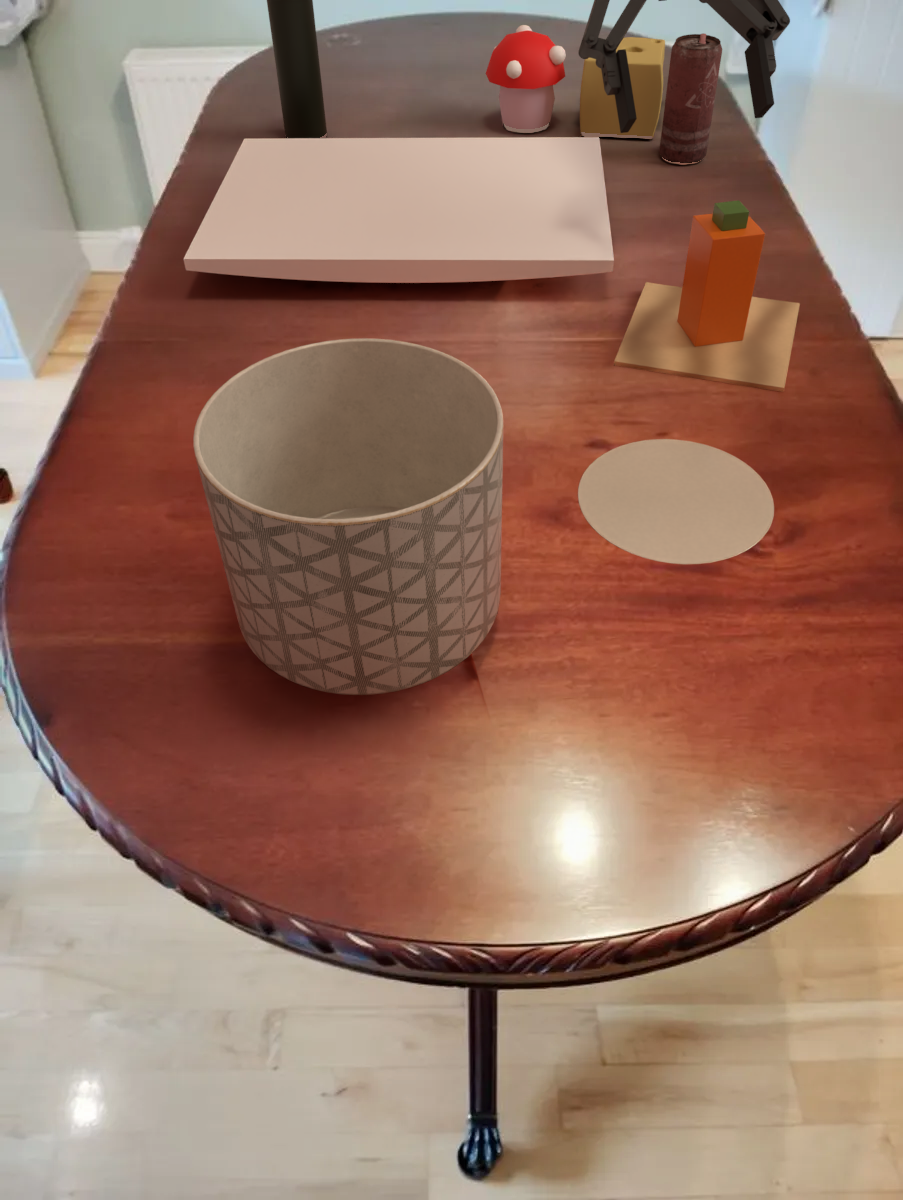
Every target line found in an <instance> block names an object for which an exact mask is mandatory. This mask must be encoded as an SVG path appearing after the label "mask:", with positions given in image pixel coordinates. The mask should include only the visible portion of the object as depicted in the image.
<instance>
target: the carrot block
mask: <svg viewBox="0 0 903 1200" xmlns="http://www.w3.org/2000/svg"><path fill="white" fill-rule="evenodd" d="M689 235H690V236H689V242H688V248H687V254H686V261H685V268H684V275H683V281H682V286H681V287H682V293H681V300H680V306H679V313H678V319H677V321H678V323H679V324H680V326H681V327H682V329H683V330H684V331H685V333H686V334H687V336H688V337H689V339H690V340H691V341H692V343H693V344H694V346H695V347H696V346H704V345H711V344H718V343H726V342H733V341H741V340H743V337H744V332H745V328H746V323H747V318H748V313H749V309H750V304H751V299H752V297H753V294H754V289H755V284H756V280H757V274H758V271H759V270H758V269H759V265H760V261H761V257H762V256H761V255H762V251H763V246H764V241H765V237H766V232H765V231H764V230H763V229H762V228H761V227H760V226H759V225H758V223H756V221H754V220H753V219H752V217H751V216H750V210H749V209H748V208H747V207H746V205H744V204H743V203H742V202H741V201H740V200H739V199H738V200H731V201H730V200H729V201H722V202H720V201H719V202H715V203H714V204H713V209H712V213H706V214H697V215H693V216H692V223H691V228H690V234H689Z"/></svg>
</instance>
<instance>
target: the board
mask: <svg viewBox="0 0 903 1200" xmlns="http://www.w3.org/2000/svg"><path fill="white" fill-rule="evenodd" d="M605 181H606V180H605V173H604V164H603V157H602V149H601V139H600V138H599V137H581V136H579V137H578V136H572V137H570V136H567V137H565V136H563V137H561V136H560V137H557V136H556V137H555V136H554V137H553V136H552V137H551V136H550V137H549V136H548V137H547V136H545V137H541V136H540V137H539V136H536V137H535V136H534V137H533V136H532V137H528V136H527V137H333V138H332V137H327V138H286V137H285V138H284V137H283V138H278V137H277V138H271V137H270V138H265V137H264V138H243V141H242V143H241V144H240V146H239V148H238V150H237V152H236V154H235V156H234V158H233V160H232V162H231V163H230V166H229V168H228V170H227V172H226V174H225V176H224V178H223V180H222V182H221V183H220V186H219V188H218V190H217V192H216V194H215V195H214V197H213V200H212V201H211V203H210V205H209V208H208V209H207V211H206V213H205V215H204V218H203V219H202V221H201V223H200V225H199V227H198V229H197V231H196V233H195V235H194V236H193V239H192V241H191V243H190V244H189V247H188V249H187V251H186V252H185V255H184V257H183V258H182V259H183V264H184V268H185V271H188V272H189V271H190V272H200V273H208V274H218V275H230V276H239V277H240V276H241V277H242V276H243V277H254V278H266V279H278V280H279V279H281V280H297V281H317V282H338V283H339V282H343V283H378V284H379V283H380V284H381V283H383V284H384V283H385V284H386V283H387V284H388V283H390V284H392V283H393V284H394V283H396V284H400V283H401V284H404V283H405V284H409V283H410V284H413V283H414V284H421V283H429V284H430V283H469V282H470V283H473V282H492V281H493V282H495V281H497V282H498V281H516V280H517V281H518V280H531V279H532V280H533V279H548V278H551V279H552V278H559V277H560V278H561V277H571V276H572V277H573V276H584V275H585V276H586V275H597V274H606V273H613V272H614V267H615V266H614V265H615V256H614V247H613V240H612V239H613V238H612V231H611V230H612V229H611V223H610V214H609V206H608V198H607V190H606V182H605Z"/></svg>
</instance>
